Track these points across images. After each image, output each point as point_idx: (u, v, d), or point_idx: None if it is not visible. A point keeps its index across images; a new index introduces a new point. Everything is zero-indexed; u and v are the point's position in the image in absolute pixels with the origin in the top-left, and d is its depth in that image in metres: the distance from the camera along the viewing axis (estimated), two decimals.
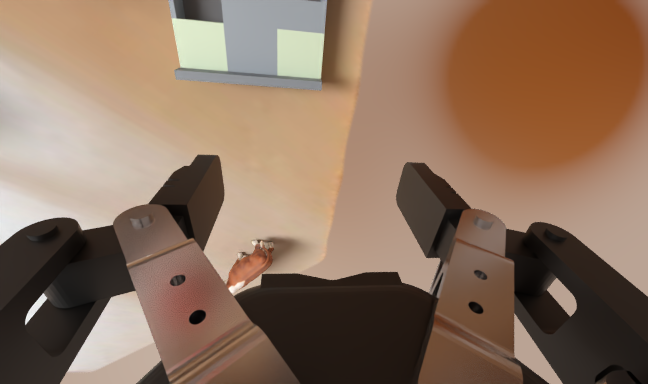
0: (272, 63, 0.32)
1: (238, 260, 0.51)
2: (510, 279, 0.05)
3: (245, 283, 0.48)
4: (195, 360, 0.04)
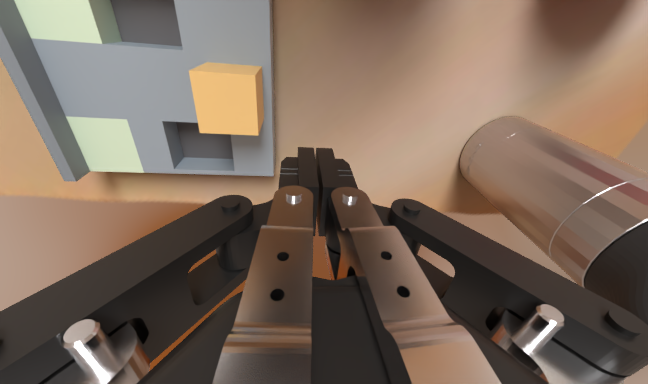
0: (79, 110, 0.23)
1: None
2: (405, 246, 0.06)
3: None
4: (254, 328, 0.04)
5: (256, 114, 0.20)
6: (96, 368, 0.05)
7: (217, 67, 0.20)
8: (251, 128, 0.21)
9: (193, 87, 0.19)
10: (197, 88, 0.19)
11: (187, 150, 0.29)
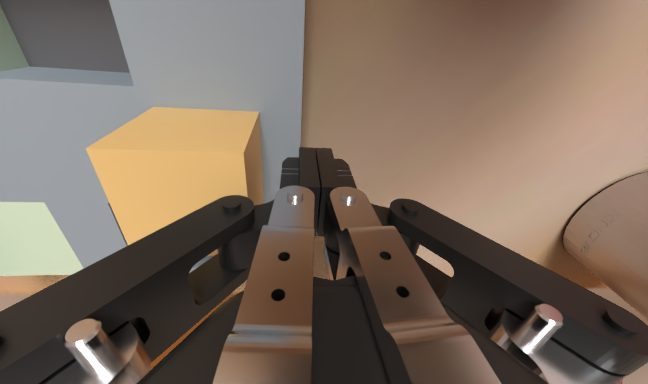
0: None
1: None
2: (404, 246, 0.06)
3: None
4: (254, 328, 0.04)
5: None
6: (97, 367, 0.05)
7: (166, 125, 0.10)
8: None
9: (104, 180, 0.08)
10: (113, 182, 0.08)
11: None
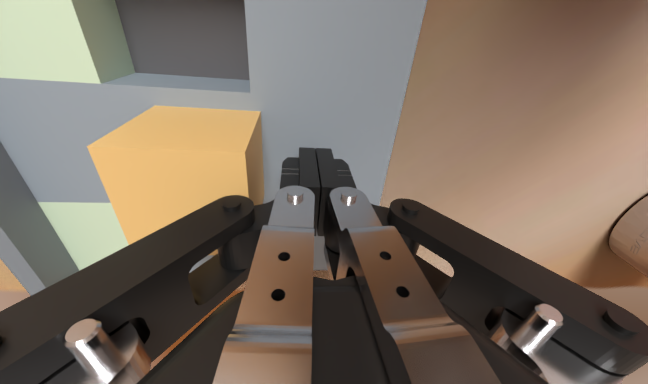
0: (60, 193, 0.13)
1: None
2: (404, 246, 0.06)
3: None
4: (254, 328, 0.04)
5: None
6: (97, 367, 0.05)
7: (167, 124, 0.10)
8: None
9: (105, 179, 0.08)
10: (114, 180, 0.08)
11: None
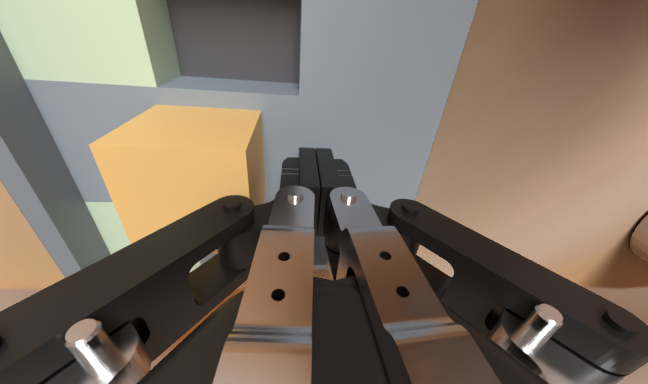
0: (107, 193, 0.14)
1: None
2: (404, 246, 0.06)
3: None
4: (254, 328, 0.04)
5: None
6: (97, 367, 0.05)
7: (168, 123, 0.10)
8: None
9: (106, 177, 0.08)
10: (116, 179, 0.08)
11: None
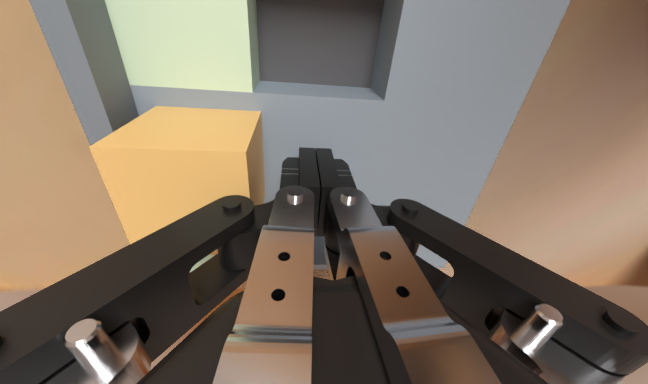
0: None
1: None
2: (404, 246, 0.06)
3: None
4: (254, 328, 0.04)
5: None
6: (97, 367, 0.05)
7: (169, 124, 0.10)
8: None
9: (107, 179, 0.08)
10: (116, 180, 0.08)
11: None
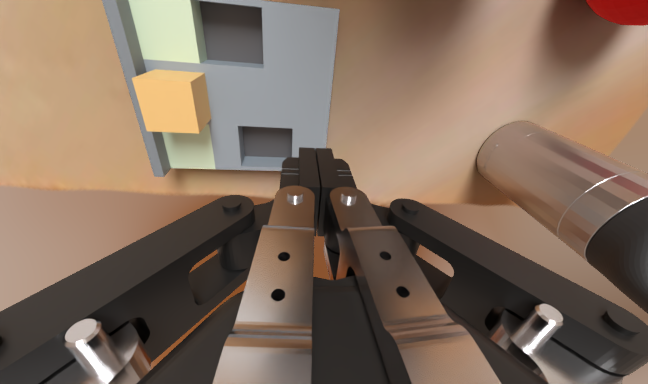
0: None
1: None
2: (404, 246, 0.06)
3: None
4: (254, 328, 0.04)
5: (195, 115, 0.24)
6: (97, 367, 0.05)
7: (161, 74, 0.23)
8: (192, 127, 0.24)
9: (137, 92, 0.22)
10: (140, 93, 0.22)
11: (248, 150, 0.34)
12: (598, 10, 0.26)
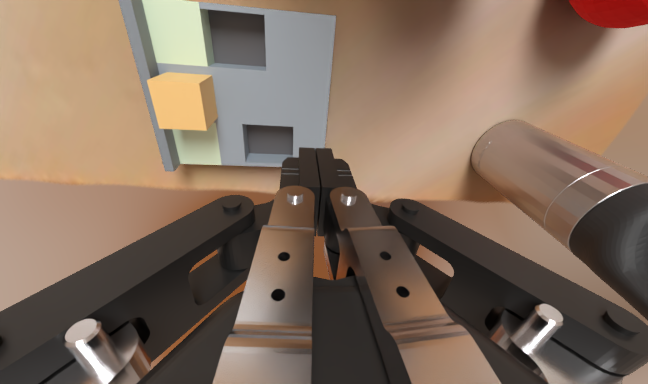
0: None
1: None
2: (404, 246, 0.06)
3: None
4: (254, 328, 0.04)
5: (203, 113, 0.26)
6: (97, 366, 0.05)
7: (172, 76, 0.26)
8: (200, 124, 0.26)
9: (151, 92, 0.24)
10: (154, 93, 0.24)
11: (252, 147, 0.36)
12: (582, 14, 0.27)
